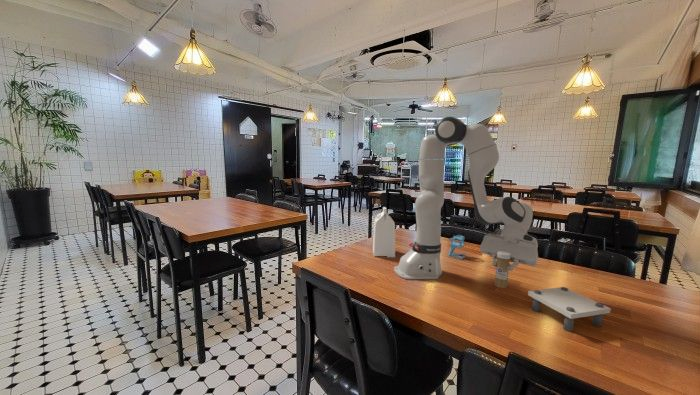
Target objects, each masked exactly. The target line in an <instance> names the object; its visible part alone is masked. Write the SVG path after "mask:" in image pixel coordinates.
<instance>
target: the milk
mask: <svg viewBox="0 0 700 395" xmlns="http://www.w3.org/2000/svg"><path fill="white" fill-rule="evenodd" d="M373 221H374V222H373V236H372V238H373V240H372V254H373V253H374V254H373V257H374V256H387V257H386V258H396V225H395V223H396V222H395V221H394V219H392V217H391V216H390V215H389V214H388V213H387V207H386V206H383V207H382V211H381V213H378V214H377V215H376V216H375V218H374V220H373Z"/></svg>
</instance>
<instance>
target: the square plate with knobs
mask: <svg viewBox="0 0 700 395" xmlns="http://www.w3.org/2000/svg"><path fill="white" fill-rule="evenodd" d="M527 295H528V297H531V298H532V305H531V310H532V311H533V312H535V311H536V313H537V312H538V313H539V312H541V303H542V304H544V305H545V306H546V307H548V308H550V309H552V310H554V311H556V312H557V313H560V314H562V316H564V318H563V319H564V320H563V327H562V328H563V330H565V331H567V332H573V330H574V324H575V319H579V318H585V317H590V316H592V321H591V324H592V326H593V325H594V326H596V327H598V328H600V327H602V326H603V319H604V315H605V314H610V313H611V310H612V309H611V307H608V306H606V305H604V304H602V303H601V302H597V301H595V300H593V299H592V298H589V297H586V296H584V295H583V294H580V293H578V292H576V291H574V290H571V289H570V288H568V287H565V286H560V287H551V288H544V289H543V288H542V289H536V290H528V292H527Z"/></svg>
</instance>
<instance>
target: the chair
mask: <svg viewBox="0 0 700 395" xmlns="http://www.w3.org/2000/svg"><path fill="white" fill-rule="evenodd" d="M465 239H466V238H465V236H463V235H461V234H458V235H457V234H456V235H453V236H452V237H450V242H451V243H449V246H450V249H449V252H448V255H449V256H448V255H447V256H448V257H453V258H455V259H458V260H464V259H465V258H466V257H467V254H465V253H456V252H454V251H455V250H456V249H457V248H460V249H462V248H463V247H465V246H466V244H465V242H464V241H465ZM456 240H457V241H459V242H457V241H456ZM452 254H453V255H452ZM459 255H462V256H459ZM465 256H466V257H465Z"/></svg>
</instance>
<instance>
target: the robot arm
mask: <svg viewBox="0 0 700 395" xmlns="http://www.w3.org/2000/svg"><path fill="white" fill-rule="evenodd" d="M434 127H435V128H434V134H433V133H432V134H427V135H426V136H424V137H423V138H422V139H421V141H420V142H421V143H420V148H419V153H418V154H419V156H418V181H419V182H418V183H419V194H418V196H417V197H416V199H415V202H414V206H415V207H414V209H415V221H416V231H415V232H416V233H415V235H416V236H415V241H414V242H412V241H409V242H408V246H409V247H410V248H412V249H410V250H409V251H408V252H406V253H405V254H404V255H401V257H400V259H399V262H398V265H395V266H394V268H393V271H394V273H395V274H396V275H397V276H398V277H400V278H403V279H405V280H438V279H439V278H440V276H442V274H443V269H442V266H441V252H442V243H441V234H442V223H441V222H442V219H441V218H442V217H441V212H442V210H441V209H442V207H443V206H444V202H445V183H444V182H445V180H444V175H445V173H444V172H445V153H446V152H445V151H446V148H447V147H451V146H454V145H457V144H460V143H461V145H462V146H463V147H464V148H465V151H466V154H467V157H468V159H469V169H468V171H467V172H468V173H467V174H468V175H467V176H468V183H469V187H470V191H471V196H472V200H473V205H474V216H475V218H476V220H477V221H478V222H479V223H480V224H482V225H483V226H490V225H493V224H497V223H503V224H504V226H503V228H502V230H501V233H500V234H493V233H488V234H487V233H486V234H485V235H484V236H483V239H482V242H481V244H480V245H479V250H480V252H481V254H484V255H488V256H490V255H491V256H490V257H491V258H492V262H491V265H492V266H493V267H496V266H497V259H496V258H497V252H498V251H505V252H509V253H510V254H511V258H510V261H512V262H513V263H512V264H510V263H509V266H508V270H509V272H510V271H511V272H513V271H514V269H515V268H516V267H518V265H520V264H523V265H527V266H531V267H534V266H536V265H537V263H538V258H539V253H538V252H539V251H538V248H539V247H538V245H539V244H538V240H537V238H536V237H534V236H532V235H529V234H528V231H529V229H530V227H531V225H532V221H533V216H534V214H533V212H534V211H533V208H532V207H531V205H529V204H528V203H526V202H522V201H521V202H520V201H519V200H517V199H515V198H514V197H513V196H505V197H504V196H503V197H499V198H497V199H492V200H489V199H488V196H487V191H486V187H485V179H486V177H487V175H489V173H490V172H491V171H493V170H494V168H496V166H497V164H498V163H499V160H500V154H499V150H498V148H497V146H496V143H495V140H494V138H493V136H492V134H491V132H490V131H489V129H488V128H487V126H485V125H484V124H482V123H475V124H474V123H473V124H471V125H468V126H467V125H466V124H465V123H464V122H463V121H462V120H461V119H459V118H457V117H454V116H445V117H443V118H441V119H440V120H439V121H438V122H437V123H436V124H435V126H434Z"/></svg>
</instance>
